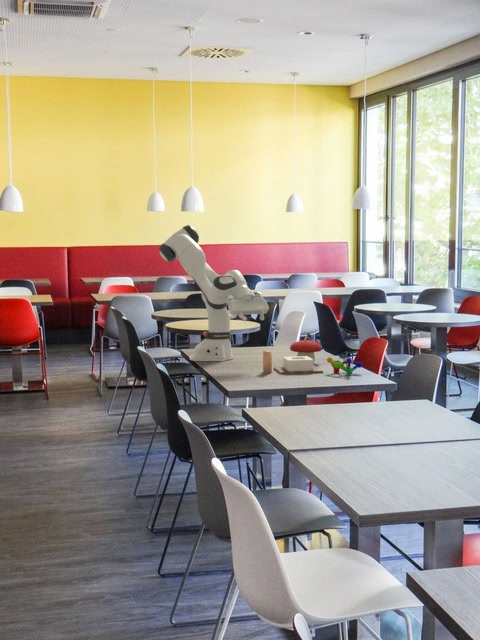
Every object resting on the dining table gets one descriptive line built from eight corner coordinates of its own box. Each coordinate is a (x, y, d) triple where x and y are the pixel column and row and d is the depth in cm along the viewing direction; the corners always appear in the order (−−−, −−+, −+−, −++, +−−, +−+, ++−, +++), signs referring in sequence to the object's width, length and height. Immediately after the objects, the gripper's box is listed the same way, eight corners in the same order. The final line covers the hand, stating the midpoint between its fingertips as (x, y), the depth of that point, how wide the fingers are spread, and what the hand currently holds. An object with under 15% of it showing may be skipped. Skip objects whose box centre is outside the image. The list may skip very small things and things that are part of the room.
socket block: (288, 371, 392) (288, 360, 392) (282, 367, 404) (282, 356, 403) (313, 370, 394) (313, 359, 393) (307, 366, 406) (307, 356, 405)
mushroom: (323, 365, 414) (323, 335, 413) (290, 365, 414) (290, 335, 413) (320, 361, 430) (320, 331, 428) (289, 361, 430) (289, 331, 429)
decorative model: (342, 361, 400) (365, 356, 389) (342, 380, 398) (366, 375, 386) (322, 357, 392) (345, 352, 381) (322, 376, 390) (345, 371, 379)
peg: (263, 373, 392) (263, 351, 391) (262, 372, 396) (262, 350, 395) (272, 373, 393) (272, 351, 392) (270, 371, 397) (270, 350, 396)
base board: (280, 374, 390) (280, 372, 390) (273, 368, 405) (273, 366, 405) (323, 372, 393) (323, 370, 393) (314, 367, 408) (314, 365, 408)
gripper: (226, 294, 404) (237, 316, 396) (264, 292, 413) (274, 314, 406) (222, 303, 408) (232, 325, 400) (259, 301, 418) (269, 323, 410)
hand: (254, 319), depth 403 cm, fingers open, 8 cm apart
